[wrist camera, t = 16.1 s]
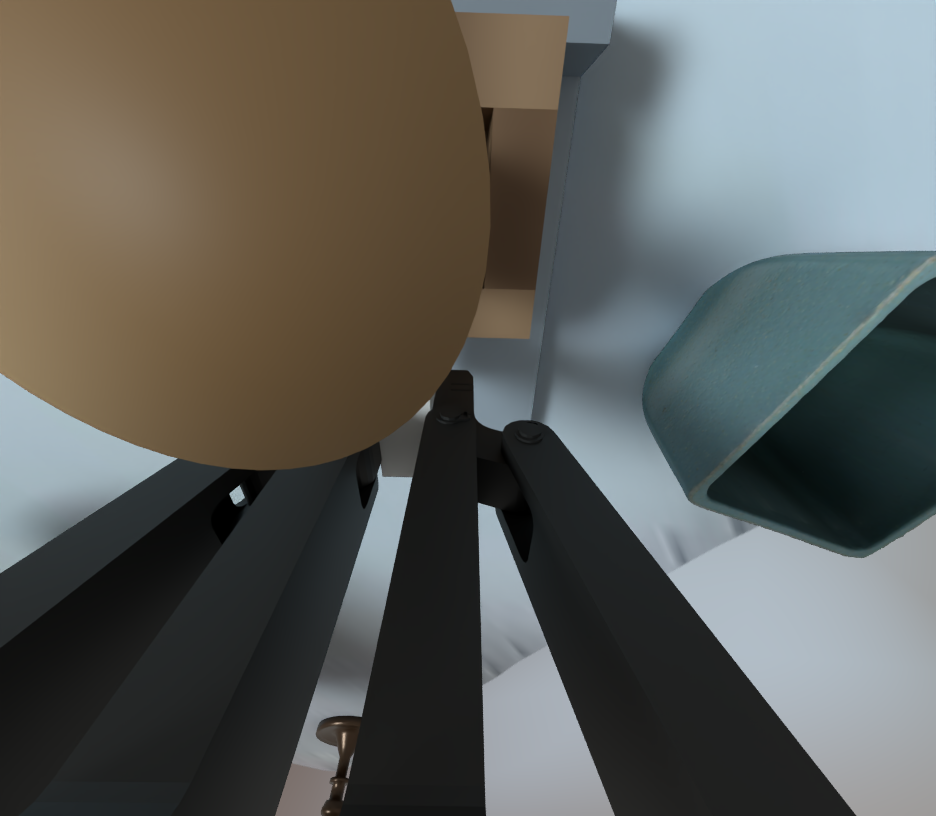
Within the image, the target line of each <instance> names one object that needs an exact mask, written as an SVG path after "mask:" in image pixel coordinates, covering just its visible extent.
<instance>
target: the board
mask: <svg viewBox="0 0 936 816" xmlns="http://www.w3.org/2000/svg"><path fill="white" fill-rule="evenodd" d="M451 2H452V5H453V8H454V11H455V12H473V13H500V14H528V15H555V16H569V24H568V32H567V40H566V48H565V57H564V65H563V73H562V81H561V89H560V97H559V105H558V113H557V121H556V129H555V137H554V145H553V153H552V161H551V169H550V177H549V185H548V193H547V201H546V210H545V218H544V226H543V234H542V242H541V250H540V258H539V266H538V274H537V282H536V290H535V298H534V306H533V314H532V322H531V330H530V338H529V339H512V338H472V337H467V339H466V342H465V344H464V347H463V348H462V350H461V352H460V354H459V356H458V358H457V360H456V361H455V363H454V365H453V367H452V369H451V370H468V371H469V372H470V373H471V375H472V376H473V383H474V415H475V418H476V419H477V421H478V422H480V423H481V424H482V425H484V426H486V427H488V428H491V429H494V430H498V431H503V429H504V427H505V426H506V425H508V424H509V423H511V422H514V421H518V420H531V416H532V409H533V402H534V395H535V388H536V381H537V374H538V367H539V361H540V354H541V347H542V340H543V333H544V326H545V319H546V312H547V305H548V299H549V292H550V285H551V278H552V271H553V264H554V257H555V250H556V243H557V237H558V230H559V223H560V216H561V209H562V202H563V195H564V188H565V182H566V175H567V168H568V161H569V154H570V147H571V140H572V133H573V126H574V120H575V113H576V106H577V99H578V92H579V85H580V78H581V76H582V75H583V74H584V72H585V71H586V70H587V69H588V68H589V67H590V66H591V64H592V63H593V62H594V61H595V60H596V59H597V58H598V57H599V55H600V54H601V53H602V52H603V51H604V50H605V49H606V47H607V46H608V45H609V44H610V38H611V33H612V27H613V21H614V15H615V9H616V3H617V0H451Z"/></svg>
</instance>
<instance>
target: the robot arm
mask: <svg viewBox="0 0 936 816" xmlns="http://www.w3.org/2000/svg"><path fill="white" fill-rule="evenodd" d="M380 464H381V468H382V476H384V477H413V478H412V483H411V487H410V492H409V497H408V502H407V506H406V511H405V516H404V521H403V525H402V530H401V535H400V539H399V544H398V549H397V554H396V558H395V563H394V568H393V572H392V577H391V582H390V587H389V591H388V596H387V601H386V606H385V610H384V615H383V620H382V624H381V629H380V634H379V639H378V643H377V648H376V653H375V657H374V662H373V667H372V672H371V676H370V681H369V686H368V691H367V695H366V700H365V705H364V709H363V714H362V719H361V724H360V728H359V733H358V738H357V742H356V747H355V752H354V757H353V761H352V766H351V771H350V776H349V780H348V785H347V789H346V793H345V797H344V801H343V805H342V808H341V812H340V815H339V816H486V808H485V777H484V736H483V695H482V655H481V616H480V576H479V536H478V503H481V504H485V505H488V506H492V507H495V509H496V515H497V517H498V520H499V522H500V525H501V527H502V530H503V532H504V535H505V537H506V540H507V543H508V545H509V548H510V550H511V553H512V555H513V558H514V560H515V563H516V565H517V568H518V570H519V573H520V576H521V578H522V581H523V583H524V586H525V588H526V591H527V593H528V596H529V598H530V601H531V603H532V606H533V609H534V611H535V614H536V616H537V619H538V621H539V624H540V626H541V629H542V631H543V634H544V637H545V639H546V642H547V644H548V647H549V649H550V652H551V654H552V657H553V659H554V662H555V664H556V667H557V670H558V672H559V675H560V677H561V680H562V682H563V685H564V687H565V690H566V692H567V695H568V698H569V700H570V702H571V705H572V708H573V710H574V713H575V715H576V718H577V720H578V723H579V725H580V728H581V731H582V733H583V735H584V738H585V741H586V743H587V746H588V748H589V751H590V753H591V756H592V758H593V761H594V763H595V766H596V768H597V771H598V774H599V776H600V779H601V781H602V784H603V786H604V789H605V791H606V794H607V796H608V799H609V802H610V804H611V807H612V809H613V812H614V814H615V816H856V815H855V814H854V812H853V811H852V810H851V809H850V807H849V806H848V805H847V804H846V802H845V801H844V800H843V798H842V797H841V796H840V794H839V793H838V792H837V791H836V789H835V788H834V787H833V786H832V784H831V783H830V782H829V780H828V779H827V778H826V777H825V775H824V774H823V773H822V772H821V770H820V769H819V768H818V766H817V765H816V764H815V763H814V761H813V760H812V759H811V758H810V756H809V755H808V754H807V752H806V751H805V750H804V749H803V747H802V746H801V745H800V744H799V742H798V741H797V740H796V739H795V737H794V736H793V735H792V733H791V732H790V731H789V730H788V728H787V727H786V726H785V725H784V723H783V722H782V721H781V719H780V718H779V717H778V716H777V714H776V713H775V712H774V711H773V709H772V708H771V707H770V706H769V704H768V703H767V702H766V700H765V699H764V698H763V697H762V695H761V694H760V693H759V691H758V690H757V689H756V688H755V686H754V685H753V684H752V683H751V682H750V680H749V679H748V678H747V676H746V675H745V674H744V672H743V671H742V670H741V669H740V667H739V666H738V665H737V664H736V662H735V661H734V660H733V658H732V657H731V656H730V655H729V653H728V652H727V651H726V650H725V648H724V647H723V646H722V645H721V643H720V642H719V641H718V639H717V638H716V637H715V636H714V634H713V633H712V632H711V630H710V629H709V628H708V627H707V626H706V624H705V623H704V622H703V620H702V619H701V618H700V617H699V615H698V614H697V613H696V611H695V610H694V609H693V608H692V606H691V605H690V604H689V603H688V601H687V600H686V599H685V597H684V596H683V595H682V594H681V592H680V591H679V590H678V589H677V588H676V586H675V585H674V584H673V582H672V581H671V580H670V578H669V577H668V576H667V575H666V573H665V572H664V571H663V569H662V568H661V567H660V566H659V564H658V563H657V562H656V561H655V559H654V558H653V557H652V556H651V554H650V553H649V552H648V550H647V549H646V548H645V547H644V545H643V544H642V543H641V542H640V540H639V539H638V538H637V536H636V535H635V534H634V533H633V531H632V530H631V529H630V528H629V526H628V525H627V524H626V522H625V521H624V520H623V519H622V517H621V516H620V515H619V514H618V512H617V511H616V510H615V508H614V507H613V506H612V505H611V503H610V502H609V501H608V500H607V498H606V497H605V496H604V495H603V493H602V492H601V491H600V489H599V488H598V487H597V486H596V484H595V483H594V482H593V481H592V479H591V478H590V477H589V475H588V474H587V473H586V472H585V470H584V469H583V468H582V467H581V465H580V464H579V463H578V461H577V460H576V459H575V458H574V456H573V455H572V454H571V453H570V451H569V450H568V449H567V448H566V446H565V445H564V444H563V442H562V441H561V440H560V439H559V437H558V436H557V435H556V434H555V432H554V431H553V430H552V429H550V428H549V427H548V426H546V425H544V424H542V423H540V422H536V421H532V420H518V421H514V422H511V423H509V424H508V425H506V426H505V427H504V429H503V431H498V430H494V429H491V428H488V427H486V426H484V425H482V424H481V423H480V422H478V421H477V419H476V418H475V415H474V383H473V376H472V375H471V373H470V372H469V371H468V370H451V371H450V373H449V374H448V376H447V377H446V379H445V380H444V381H443V383H442V384H441V385H440V387H439V388H438V389H437V391H436V392H435V394H434V395H433V396H432V398H431V399H430V400H429V401H428V402H427V403H426V404H425V405H424V406H423V407H422V408H421V409H420V410H419V411H418V412H417V413H416V414H415V415H414V416H413V417H412V418H411V419H410V420H409V421H408V422H406V423H405V424H404V425H402V426H401V427H400V428H398V429H397V430H396V431H395V432H393V433H392V434H391V435H389V436H388V437H386V438H384V439H382V440H381V441H379V442H377V443H375V444H373V445H372V446H370V447H368V448H366V449H364V450H362V451H359V452H357V453H354V454H352V455H349V456H347V457H344V458H342V459H338V460H334V461H331V462H327V463H323V464H319V465H315V466H308V467H301V468H294V469H283V470H248V469H232V468H225V467H219V466H212V465H206V464H200V463H196V462H191V461H187V460H183V459H179V458H178V459H176V460H175V461H173V462H172V463H170V464H169V465H167V466H165V467H164V468H162V469H161V470H159V471H158V472H156V473H155V474H153V475H152V476H150V477H149V478H147V479H145V480H144V481H142V482H141V483H139V484H138V485H136V486H135V487H133V488H132V489H130V490H128V491H127V492H125V493H124V494H122V495H121V496H119V497H118V498H116V499H115V500H113V501H111V502H110V503H108V504H107V505H105V506H104V507H102V508H101V509H99V510H98V511H96V512H94V513H93V514H91V515H90V516H88V517H87V518H85V519H84V520H82V521H81V522H79V523H77V524H76V525H74V526H73V527H71V528H70V529H68V530H67V531H65V532H64V533H62V534H61V535H59V536H57V537H56V538H54V539H53V540H51V541H50V542H48V543H47V544H45V545H44V546H42V547H40V548H39V549H37V550H36V551H34V552H33V553H31V554H30V555H28V556H27V557H25V558H23V559H22V560H20V561H19V562H17V563H16V564H14V565H13V566H11V567H10V568H8V569H6V570H5V571H3V572H2V573H0V816H275V814H276V811H277V807H278V804H279V801H280V798H281V795H282V792H283V789H284V785H285V782H286V779H287V776H288V773H289V770H290V767H291V763H292V760H293V757H294V754H295V751H296V748H297V744H298V741H299V738H300V735H301V732H302V729H303V725H304V722H305V719H306V716H307V713H308V710H309V707H310V703H311V700H312V697H313V694H314V691H315V688H316V684H317V681H318V678H319V675H320V672H321V669H322V665H323V662H324V659H325V656H326V653H327V650H328V647H329V643H330V640H331V637H332V634H333V631H334V628H335V624H336V621H337V618H338V615H339V612H340V609H341V605H342V602H343V599H344V596H345V593H346V590H347V587H348V583H349V580H350V577H351V574H352V571H353V568H354V564H355V561H356V558H357V555H358V552H359V549H360V545H361V542H362V539H363V536H364V533H365V530H366V526H367V523H368V520H369V517H370V514H371V511H372V508H373V504H374V501H375V498H376V495H377V492H378V477H377V473H378V470H379V467H380ZM239 485H240V487H241V489H242V492H243V494H244V496H245V498H244V499H243V500H242V501H241V502H239V503H237V504H236V505H235V504H234V503H233V501H232V499H231V497H230V495H229V493H231V492H232V491H233V490H234V489H235V488H236V487H238V486H239Z"/></svg>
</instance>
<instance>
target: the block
mask: <svg viewBox="0 0 936 816" xmlns="http://www.w3.org/2000/svg"><path fill="white" fill-rule="evenodd" d="M455 14H456V17H457V20H458V23H459V26H460V29H461V31H462V34H463V37H464V40H465V43H466V46H467V49H468V53H469V58H470V62H471V66H472V71H473V75H474V80H475V84H476V88H477V93H478V97H479V102H480V106H481V110H482V115H483V122H484V130H485V138H486V147H487V155H488V163H489V172H490V236H489V246H488V255H487V265H486V273H485V278H484V282H483V286H482V291H481V295H480V299H479V304H478V308H477V312H476V315H475V317H474V320H473V323H472V325H471V328H470V331H469V334H468V336H467V337H472V338H512V339H529V338H530V330H531V322H532V314H533V306H534V298H535V290H536V282H537V274H538V266H539V258H540V250H541V242H542V234H543V226H544V218H545V210H546V201H547V193H548V185H549V177H550V169H551V161H552V153H553V145H554V137H555V129H556V121H557V113H558V105H559V97H560V89H561V81H562V73H563V65H564V57H565V48H566V40H567V32H568V24H569V16H555V15H528V14H500V13H473V12H455Z"/></svg>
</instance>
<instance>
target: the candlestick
mask: <svg viewBox="0 0 936 816" xmlns="http://www.w3.org/2000/svg"><path fill="white" fill-rule="evenodd" d="M361 719H362V717H354V716H337V717H331V718H327V719H324V720H322V721H321V722H320V723H319V725H318V728H317V732H316V737H317V738H318V739H319V740H320V741H322V742H324V743H327V744H329V745H333V746H338V751H339V756H340V759H339V763H338V767H337V772H336V776H335V777H332V778H331V779H330V784H332V785H333V786H332V790H331V794H330V799H329V800H327V801H326V802H325V804H324V806H323V807H322V810H321V815H322V816H339V815H340V812H341V808H342V805H343V801H342V798H343V793H344V788H345V786H346V785H348V780H349V779H348V778H346V775H347V770H348V766H349V761H350V758H351V756H352V755H353V753H354V752H355V747H356V742H357V738H358V733H359V728H360V724H361Z"/></svg>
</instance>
